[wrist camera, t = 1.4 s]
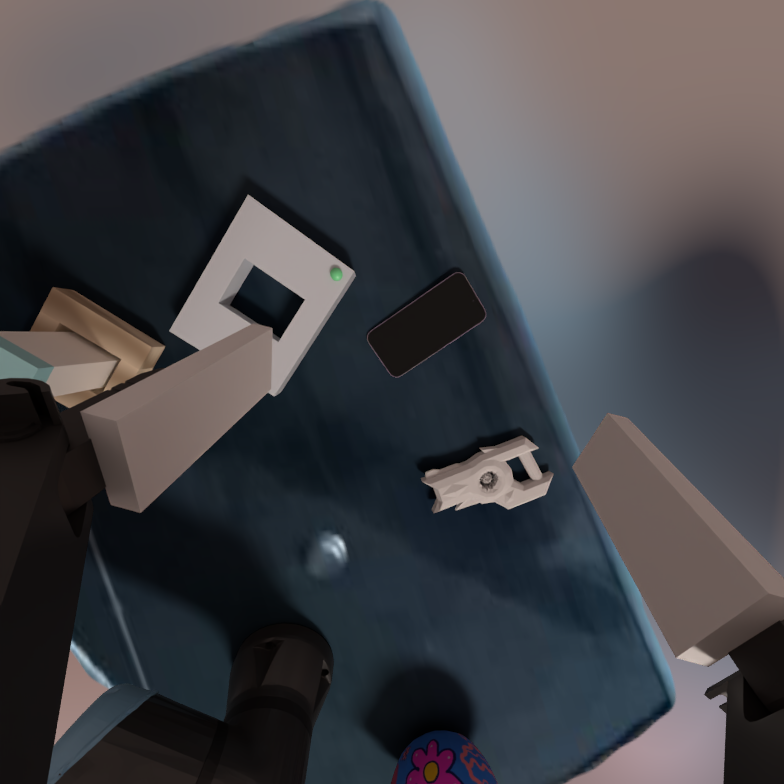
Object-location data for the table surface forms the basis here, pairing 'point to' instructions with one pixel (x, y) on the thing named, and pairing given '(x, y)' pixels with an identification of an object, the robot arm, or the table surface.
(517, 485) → the angular bracket part
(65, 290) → the wooden square frame
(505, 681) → the table surface
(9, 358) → the plug
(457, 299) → the smartphone
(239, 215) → the port
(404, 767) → the ceramic pot
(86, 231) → the table surface
